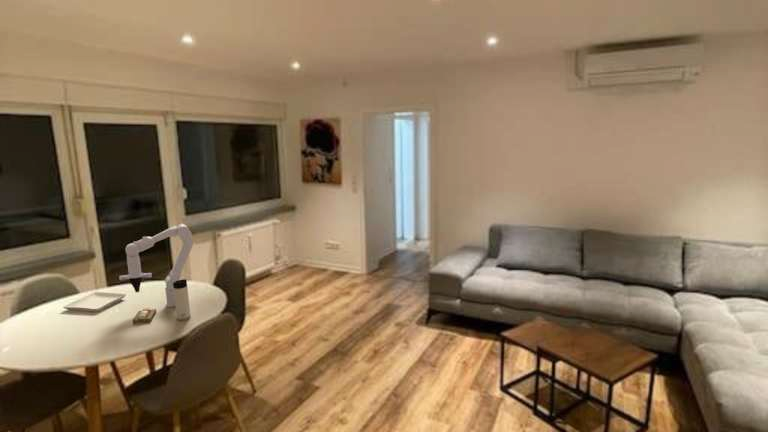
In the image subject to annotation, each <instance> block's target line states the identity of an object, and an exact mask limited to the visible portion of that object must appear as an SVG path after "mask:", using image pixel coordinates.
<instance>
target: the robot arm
mask: <svg viewBox="0 0 768 432" xmlns="http://www.w3.org/2000/svg"><path fill="white" fill-rule="evenodd" d="M168 237H173V238H174V237H175V238H177V237H179V238H180V239H181V241H182V245H181V247H180V251H179V253H178V254H177V257H176V259H175V262H174V265H173V267H172V269H171V270H170V271H169V273H168V275H166V277H165V279H164V283H165V286H166V287H165V289H164V290H165V299H166V303H165V305H164V306H165V308H170V307H175V298H174V289H173V282H176V281H178V280H181V275H182V272H183V270H184V267H185V265H186V262H187V260H188V257H189V256H190V252H191V251H192V249H193V246H194V238H193V234H192V231H191V230H190V229H189V227H188V225H186V224H185V223H179V224H177V225H173V226H171V227H169V228H167V229H164V231H161V232H159V233H157V234H155V235H154V236H142V238H141V239H139V240H137V241H133V242H132V243H128V244H127V245H126V247H125V249H124V250H125V254H126V263H127V268H128V269H127V270H128V274H125V275H119V278H118V279H119V281H125V280H129V281H128V282H129V283H130V285H131V286H132V288H133V290H134V291H135V293H139V292H140V287H141V283H142V280H143V279H144V278H146V279H147V278H149V279H150V278H152V274H153V273H152V272H142V267H141V266H142V265H141V259H140V258H141V257H140V255H139V253H141V252H143V251H145V250H148V249H150V248H152V247H154V246H155V243H157V242H160V241H162V240H165V239H167V238H168Z"/></svg>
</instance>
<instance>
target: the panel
mask: <svg viewBox="0 0 768 432" xmlns="http://www.w3.org/2000/svg"><path fill="white" fill-rule="evenodd" d="M149 310H150V313H149V314H148V316H147V318H146V319H139V315H140V314H141V312H142V311H143V310H138V311H137V313H136V314H135V315H134V316H133V317H134V318H133V319H132V325H138V324H147V323H152V322H153V320H154V317H155V316H156V314H157V309H156V308H154V309H149Z"/></svg>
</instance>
